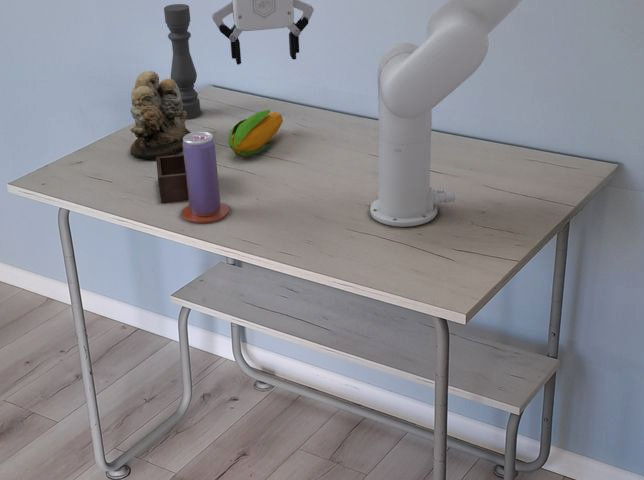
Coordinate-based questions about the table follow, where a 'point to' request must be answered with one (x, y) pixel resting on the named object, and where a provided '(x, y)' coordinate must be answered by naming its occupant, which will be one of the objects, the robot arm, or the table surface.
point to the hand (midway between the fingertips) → (265, 59)
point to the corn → (254, 133)
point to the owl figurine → (157, 117)
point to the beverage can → (201, 173)
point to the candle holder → (182, 57)
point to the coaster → (208, 219)
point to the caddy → (172, 178)
